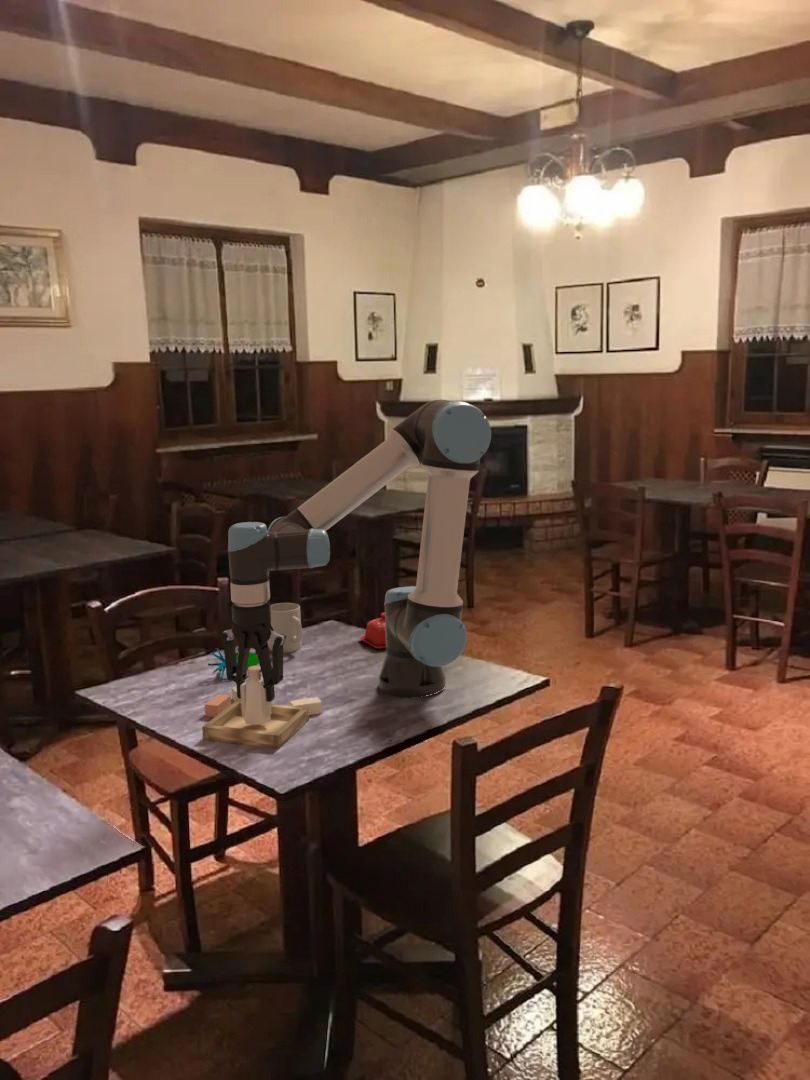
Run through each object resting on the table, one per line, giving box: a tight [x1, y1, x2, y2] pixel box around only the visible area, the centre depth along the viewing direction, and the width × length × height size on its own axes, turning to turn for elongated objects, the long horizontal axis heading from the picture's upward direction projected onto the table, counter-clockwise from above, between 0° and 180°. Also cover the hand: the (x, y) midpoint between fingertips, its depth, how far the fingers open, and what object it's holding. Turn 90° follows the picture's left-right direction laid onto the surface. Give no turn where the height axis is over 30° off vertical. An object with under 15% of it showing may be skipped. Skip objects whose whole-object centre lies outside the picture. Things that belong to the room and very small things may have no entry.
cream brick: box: [290, 696, 323, 716], centre depth 190 cm, size 6×3×3 cm, turn 110°
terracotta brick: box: [204, 694, 232, 718], centre depth 192 cm, size 6×3×3 cm, turn 164°
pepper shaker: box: [244, 665, 271, 725], centre depth 180 cm, size 5×5×11 cm
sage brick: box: [231, 686, 241, 702], centre depth 199 cm, size 6×3×3 cm, turn 116°
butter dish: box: [358, 611, 386, 650], centre depth 236 cm, size 12×12×8 cm
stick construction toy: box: [207, 647, 259, 681], centre depth 215 cm, size 12×7×8 cm
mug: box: [268, 602, 303, 654], centre depth 232 cm, size 12×8×11 cm
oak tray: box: [201, 701, 310, 750], centre depth 182 cm, size 16×14×3 cm
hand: (256, 714), depth 181 cm, fingers closed on pepper shaker, 4 cm apart
